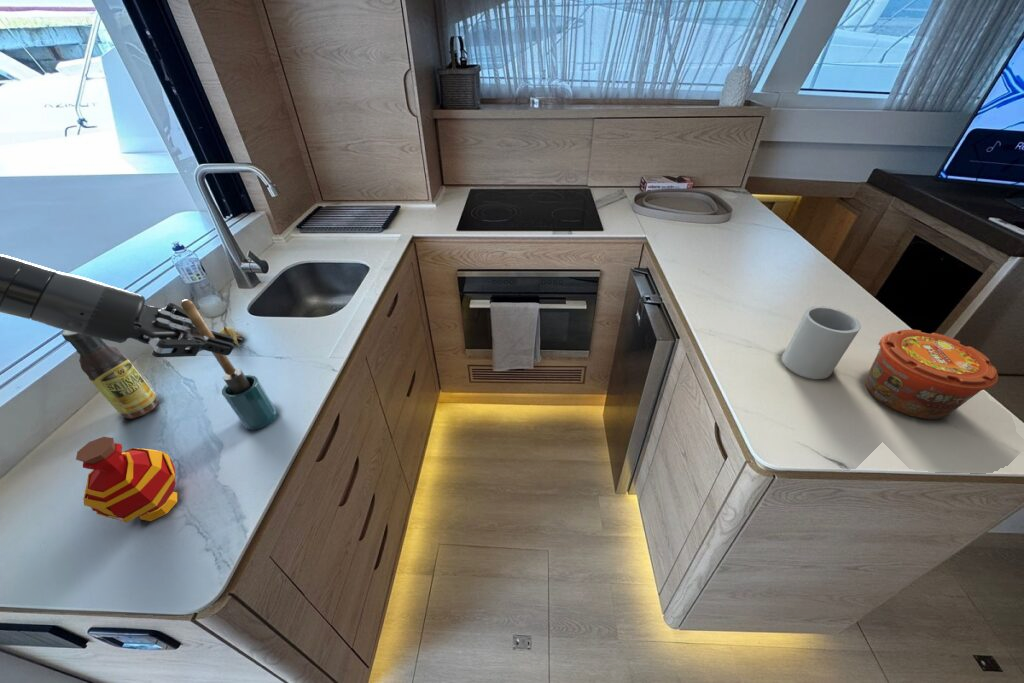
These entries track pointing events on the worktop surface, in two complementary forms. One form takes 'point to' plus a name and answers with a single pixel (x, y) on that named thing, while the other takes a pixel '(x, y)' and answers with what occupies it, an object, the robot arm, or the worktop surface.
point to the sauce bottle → (113, 375)
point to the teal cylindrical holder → (251, 405)
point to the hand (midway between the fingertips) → (231, 346)
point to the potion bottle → (127, 481)
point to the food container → (927, 374)
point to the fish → (231, 334)
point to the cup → (820, 342)
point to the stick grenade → (232, 375)
